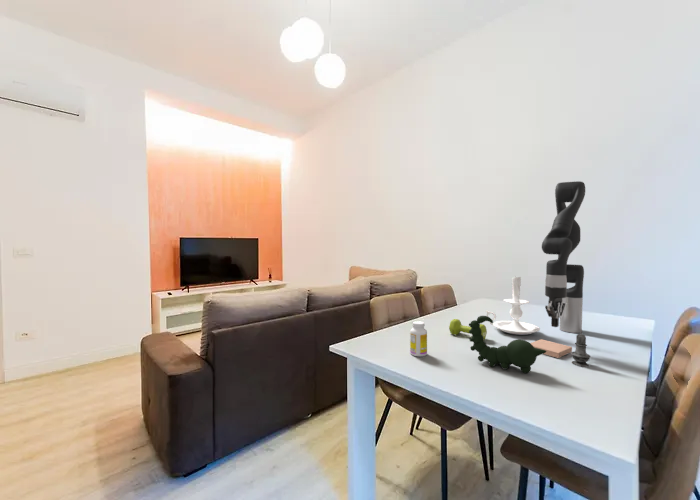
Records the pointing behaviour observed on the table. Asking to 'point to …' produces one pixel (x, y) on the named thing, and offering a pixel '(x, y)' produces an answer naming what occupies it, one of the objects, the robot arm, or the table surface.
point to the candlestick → (515, 314)
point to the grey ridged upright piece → (580, 352)
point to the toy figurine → (503, 349)
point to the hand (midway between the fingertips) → (554, 326)
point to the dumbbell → (463, 328)
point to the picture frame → (552, 348)
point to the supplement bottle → (418, 339)
